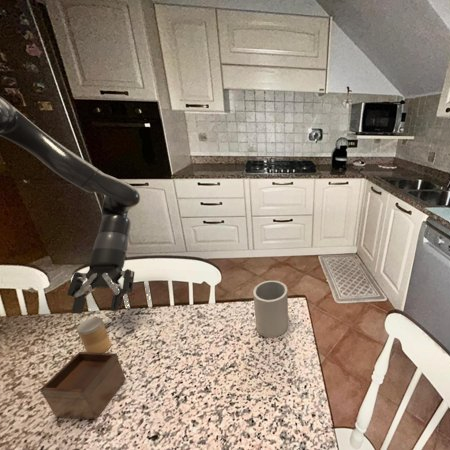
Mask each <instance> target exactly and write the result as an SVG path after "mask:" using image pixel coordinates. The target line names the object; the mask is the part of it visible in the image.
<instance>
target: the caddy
mask: <svg viewBox="0 0 450 450" xmlns="http://www.w3.org/2000/svg"><path fill="white" fill-rule="evenodd" d="M126 380H127V378H126V376H125V373H124V370H123V367H122V365H121V362H120V360H119V358H118V355H117V353H115V352H114V353H112V352H105V353H95V352H86V351H79V352H77V354H75V356H73V357H72V358H71V359H70V360H69V361H68V362H67V363H66V364H65V365H64V366H63V367H62V368H61V369H60V370H58V372H57V373H55V375H54V376H52V377H51V378H50V380H48V381H47V382H46V383H45V384H44V385H43V386H42V387H41V388H40V389H39V391H40V393H41V395H42V396H43V398H44V399H45V401H46V403H47V404H48V406H49V408H50V410H51V411H52V413H53V415H54V417H55V418H62V419H63V418H64V419H78V420H79V419H80V420H81V419H82V420H97V419H98V417H99V416H100V415H101V414H102V412H103V411H104V410H105V408H106V407H107V405H108V404H109V403H110V402H111V400H112V399H113V398H114V396H115V395H116V394H117V392H118V391H119V389H120V388H121V387H122V385H123V384H124V383H125V381H126Z"/></svg>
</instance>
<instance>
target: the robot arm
mask: <svg viewBox="0 0 450 450" xmlns="http://www.w3.org/2000/svg"><path fill="white" fill-rule="evenodd" d="M0 137H2V138H4V139H6V140H8V141H10V142H12V143H13V144H16V145H17V146H19V147H21V148H22V149H23V150H26V151H27V152H28V153H30V154H32V155H33V157H35V158H37V159H38V160H39V161H40V162H42V164H44V165H45V166H46V167H48V168H49V169H50V170H51V171H52V172H54V173H55V174H57V176H59V177H60V178H62V179H64V180H66V181H67V182H68V183H71V184H72V185H73V186H76V187H77V188H79V189H80V190H81V191H84V192H86V193H89V194H94V193H99V194H101V195H103V196H104V198H103V201H102V205H101V221H100V225H99V229H98V232H97V236H96V238H95V240H94V243H93V247H92V251H91V255H90V259H89V263H88V271H87V272H79V271H75V272H74V273H73V276H72V278H71V282H70V283H69V287H68V290H67V292H66V294H67V296H70V297H73V298H74V301H73V304H72V307H71V309H72V312H73V314H76V315H77V314H78V315H80V314H83V313H84V309H85V306H86V301H87V298H86V297H88V296H89V295H90V294H91V293H92V292H94V291H96V290H97V289H111V290H112V293H114V295H112V299H111V303H110V304H111V305H110V309H109V310H110V311H111V312H118V311H119V309H121V307H122V304H123V297H124V296H125V295H128V294H131V293H132V292H133V289H134V281H135V271H134V270H132V269H129V268H127V269H125V270H123V268H124V267H125V262H126V256H127V252H128V246H129V236H130V231H131V225H132V222H131V219H130V218H129V217H128V214H129V211H130V210H131V209H132V208H134V207H136V206H137V205H138V204H139V203H140V201H141V195H140V193H139V192H138V190H137V189H136V188H135V187H134V186H132V185H131V184H129V183H128V182H126V181H123V180H122V179H119V178H117V177H114V176H112V175H109V174H108V173H104V172H103V171H102V170H100V169H99V168H97V167H95V166H94V165H93V164H91V163H89V161H87V160H85V159H84V158H82V157H80V156H79V155H78V154H76V153H75V152H73V151H72V150H70V149H68V147H66V146H64V145H63V144H61V143H60V142H59V141H57V140H56V139H54V138H53V137H52V136H50V135H49V134H48V133H46V132H44V130H42V129H41V128H40V127H38V126H37V125H36V124H35V123H33V122H32V120H30V119H28V118H27V117H26V116H25V115H24V114H23V113H22V112H21V111H19V110H18V109H17V108H15V106H13V105H12V103H10V102H9V101H8V100H6V98H4V97H2V96H1V95H0ZM121 278H123V283H122V284H121V282H120V281H119V280H121Z"/></svg>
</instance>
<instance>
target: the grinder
mask: <svg viewBox="0 0 450 450" xmlns="http://www.w3.org/2000/svg"><path fill="white" fill-rule="evenodd" d="M76 333H77V334H78V336H79V338H80V341H81V343H82V344H83V347H84V350H85V352H95V353H107V352H108V350H109V349H110V348H111V346H112V342H111V339H110V337H109V335H108V332H107V329H106V326H105V324H104V320H103V319H102V318H101V317H98V316H97V317H92V318H88V319H86V320H84V321H83V322H81V323H80V324H79V325H78V326H76Z"/></svg>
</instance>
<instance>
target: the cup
mask: <svg viewBox="0 0 450 450" xmlns="http://www.w3.org/2000/svg"><path fill="white" fill-rule="evenodd" d="M252 292H253V293H252V294H253V305H254V306H253V307H254V318H255V328H256V332H257V333H258V334H259V335H261V336H263V337H264V338H277V337H279V336H281V335H283V334H284V333H285V332H286V331H287V329H288V327H289V299H288V298H289V296H288V295H289V293H288V286H287V285H286V284H285V283H283V282H282V281H279V280H265V281H263V282H262V281H261V282H260V283H259V284H257V285H256V286H255V287H254V289H253V291H252Z"/></svg>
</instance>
